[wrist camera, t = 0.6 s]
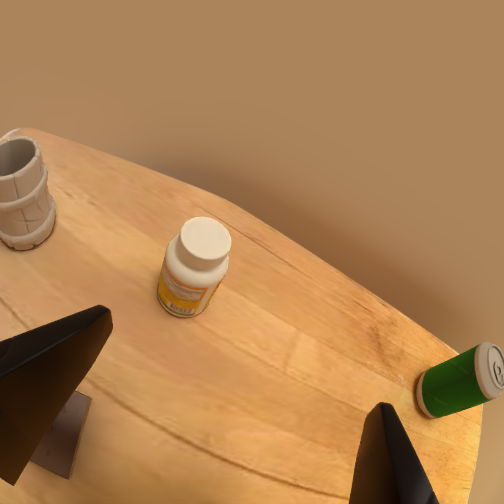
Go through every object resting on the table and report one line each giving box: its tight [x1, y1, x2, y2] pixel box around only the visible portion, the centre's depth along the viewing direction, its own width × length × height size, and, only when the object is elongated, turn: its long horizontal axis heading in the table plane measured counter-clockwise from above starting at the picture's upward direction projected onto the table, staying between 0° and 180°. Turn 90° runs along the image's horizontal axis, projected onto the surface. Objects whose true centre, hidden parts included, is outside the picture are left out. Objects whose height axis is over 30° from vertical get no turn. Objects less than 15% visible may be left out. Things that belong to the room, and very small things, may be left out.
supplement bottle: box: [157, 217, 231, 317], centre depth 26 cm, size 5×5×10 cm
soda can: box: [416, 342, 504, 418], centre depth 28 cm, size 8×8×12 cm
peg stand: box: [30, 391, 91, 480], centre depth 14 cm, size 8×8×7 cm
